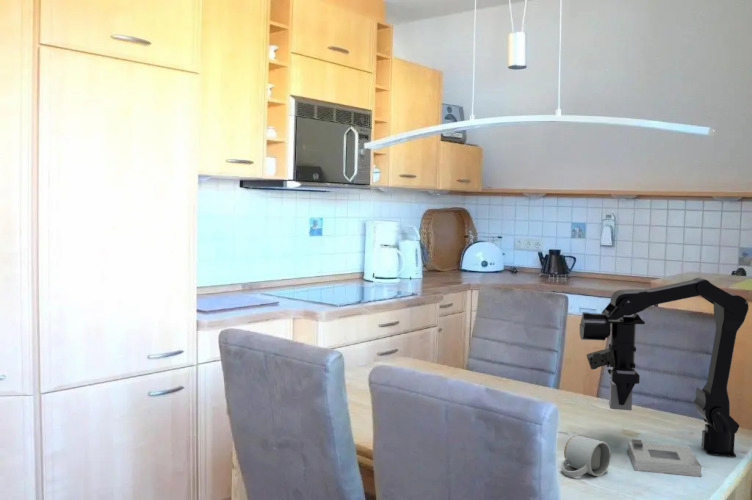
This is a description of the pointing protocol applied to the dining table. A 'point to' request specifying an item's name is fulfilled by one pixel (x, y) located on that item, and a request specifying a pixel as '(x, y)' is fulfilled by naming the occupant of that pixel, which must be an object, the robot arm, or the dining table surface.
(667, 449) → the socket plate
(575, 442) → the ceramic mug
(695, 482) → the dining table surface
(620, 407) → the plug
